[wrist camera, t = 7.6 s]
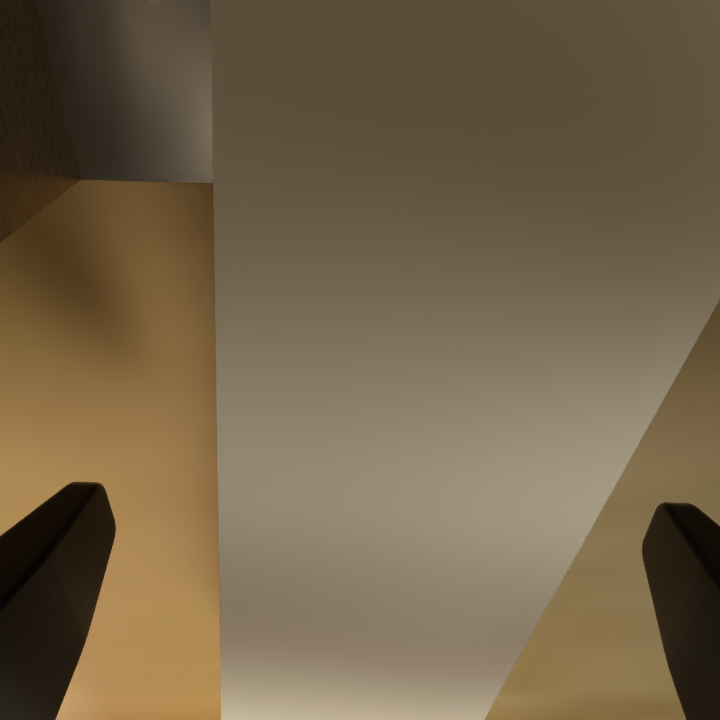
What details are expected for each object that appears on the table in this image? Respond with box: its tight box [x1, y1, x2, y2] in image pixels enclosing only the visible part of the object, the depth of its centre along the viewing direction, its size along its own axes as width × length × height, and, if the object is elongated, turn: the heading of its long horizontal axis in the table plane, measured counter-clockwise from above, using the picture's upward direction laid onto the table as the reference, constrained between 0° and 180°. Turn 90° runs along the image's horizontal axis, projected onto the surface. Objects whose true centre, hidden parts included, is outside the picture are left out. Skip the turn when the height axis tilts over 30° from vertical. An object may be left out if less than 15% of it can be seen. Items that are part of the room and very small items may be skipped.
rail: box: [210, 0, 720, 720], centre depth 9 cm, size 16×4×4 cm, turn 173°
